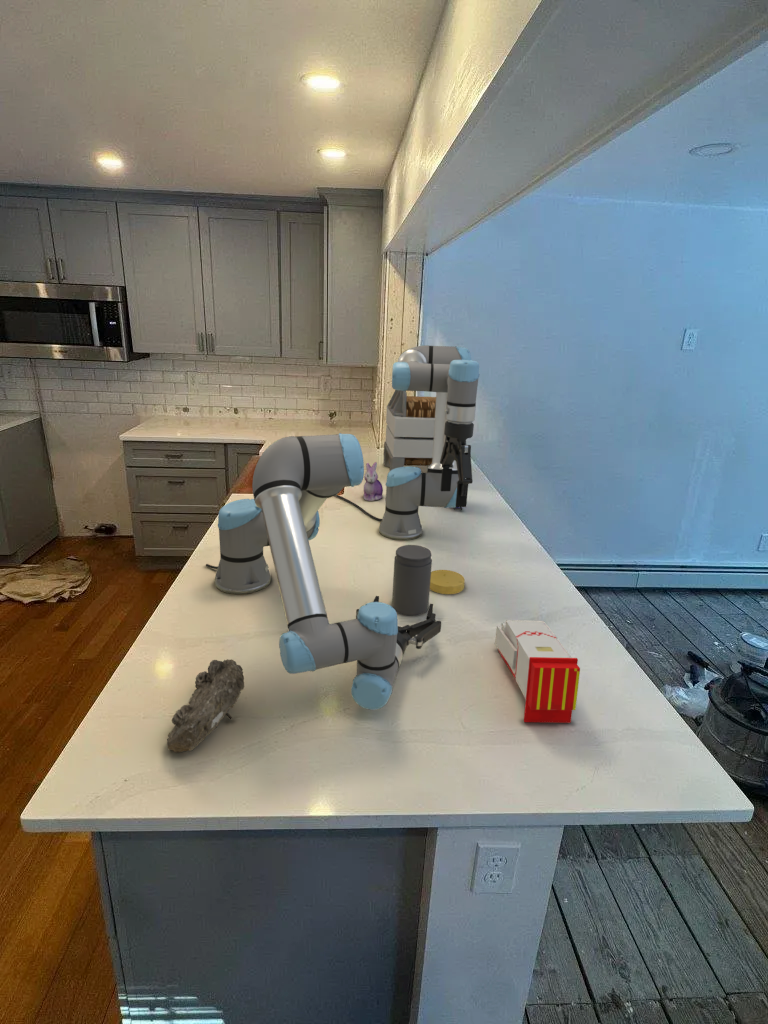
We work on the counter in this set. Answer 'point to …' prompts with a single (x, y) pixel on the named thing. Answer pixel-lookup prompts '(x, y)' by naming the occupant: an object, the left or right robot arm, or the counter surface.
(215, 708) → the fossil
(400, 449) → the grey slatted crate
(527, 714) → the toy
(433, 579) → the lid
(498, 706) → the counter surface
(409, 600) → the jar
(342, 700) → the counter surface
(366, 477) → the figurine
